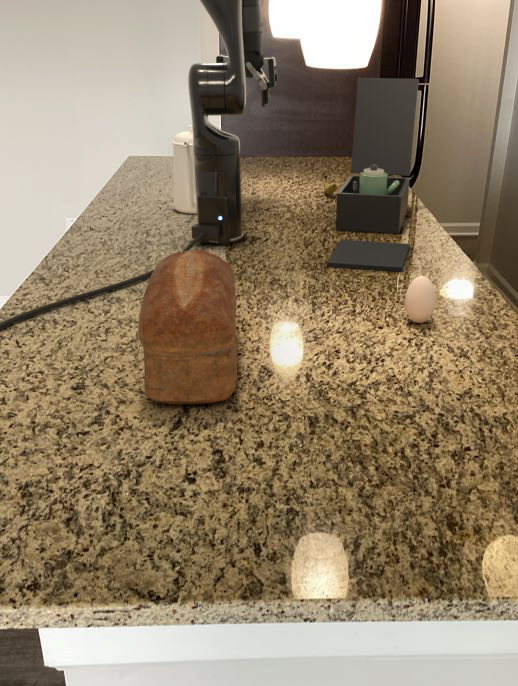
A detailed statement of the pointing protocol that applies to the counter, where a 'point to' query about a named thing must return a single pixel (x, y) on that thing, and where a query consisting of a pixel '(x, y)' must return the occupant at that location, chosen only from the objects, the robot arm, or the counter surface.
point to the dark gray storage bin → (372, 208)
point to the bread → (189, 329)
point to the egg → (420, 299)
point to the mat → (369, 255)
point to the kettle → (374, 182)
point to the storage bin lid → (384, 125)
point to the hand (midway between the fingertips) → (247, 104)
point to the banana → (329, 187)
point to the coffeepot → (184, 173)
